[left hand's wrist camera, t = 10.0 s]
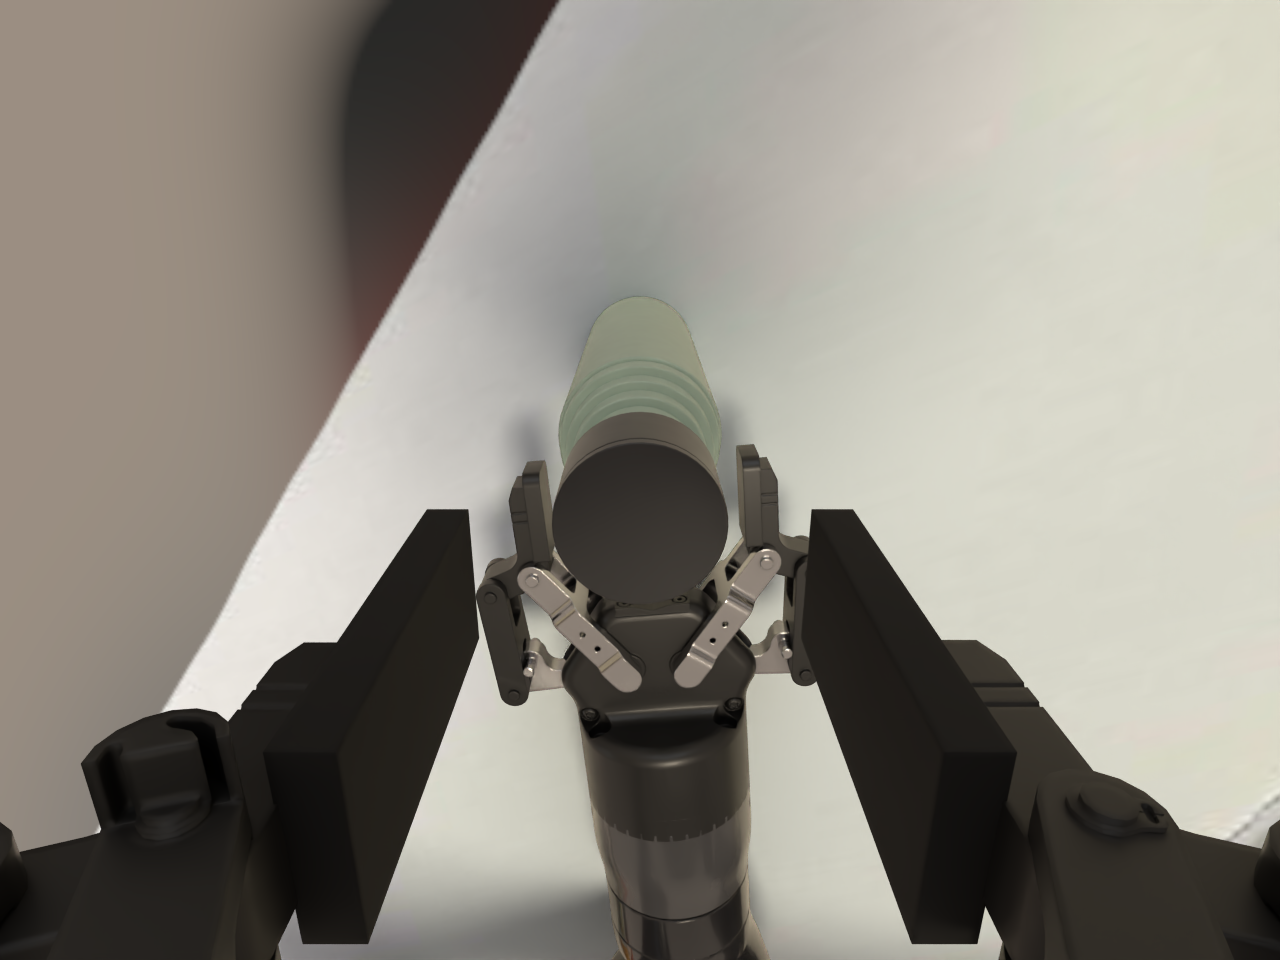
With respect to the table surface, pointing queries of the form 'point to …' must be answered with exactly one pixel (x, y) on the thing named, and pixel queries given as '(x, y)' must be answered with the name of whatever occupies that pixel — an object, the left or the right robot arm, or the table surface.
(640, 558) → the cap
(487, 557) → the table surface
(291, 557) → the table surface
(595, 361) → the bottle
